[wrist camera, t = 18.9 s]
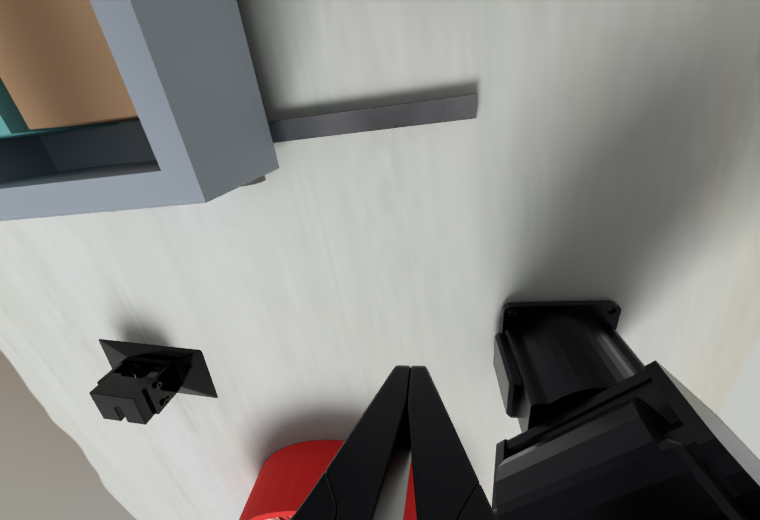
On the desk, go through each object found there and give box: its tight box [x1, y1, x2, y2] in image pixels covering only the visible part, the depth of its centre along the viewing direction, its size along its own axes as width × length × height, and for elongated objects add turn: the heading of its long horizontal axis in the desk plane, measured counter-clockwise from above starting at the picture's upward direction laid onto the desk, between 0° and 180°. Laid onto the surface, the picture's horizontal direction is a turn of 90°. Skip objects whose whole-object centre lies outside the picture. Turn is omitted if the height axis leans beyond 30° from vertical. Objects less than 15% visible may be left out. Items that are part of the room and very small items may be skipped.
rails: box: [268, 94, 477, 143], centre depth 15 cm, size 23×8×1 cm, turn 97°
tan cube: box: [0, 0, 140, 129], centre depth 12 cm, size 4×4×4 cm
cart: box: [0, 0, 279, 221], centre depth 13 cm, size 13×12×7 cm
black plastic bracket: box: [90, 339, 218, 424], centre depth 26 cm, size 12×7×5 cm, turn 89°
